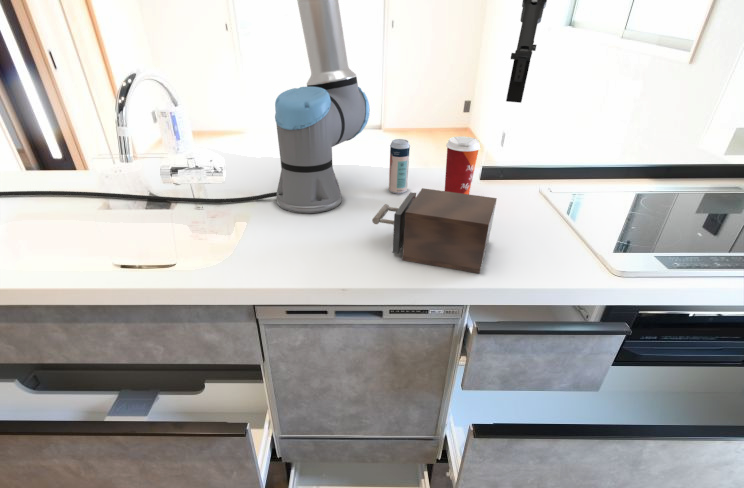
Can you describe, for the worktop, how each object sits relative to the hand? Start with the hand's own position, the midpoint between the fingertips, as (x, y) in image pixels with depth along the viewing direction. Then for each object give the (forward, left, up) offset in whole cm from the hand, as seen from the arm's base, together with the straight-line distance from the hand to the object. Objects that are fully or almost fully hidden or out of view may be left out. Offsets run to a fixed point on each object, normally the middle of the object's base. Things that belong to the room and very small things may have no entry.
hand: (515, 95), depth 86 cm
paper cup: (-9, +7, -25) cm, 28 cm away
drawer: (-12, -20, -24) cm, 34 cm away
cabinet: (-6, -20, -25) cm, 33 cm away
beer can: (-24, +8, -25) cm, 36 cm away
